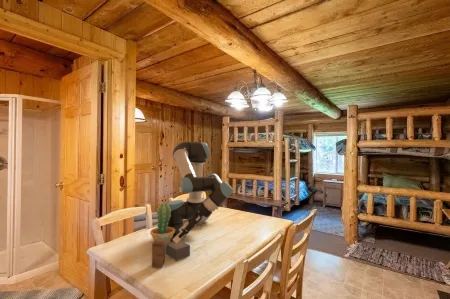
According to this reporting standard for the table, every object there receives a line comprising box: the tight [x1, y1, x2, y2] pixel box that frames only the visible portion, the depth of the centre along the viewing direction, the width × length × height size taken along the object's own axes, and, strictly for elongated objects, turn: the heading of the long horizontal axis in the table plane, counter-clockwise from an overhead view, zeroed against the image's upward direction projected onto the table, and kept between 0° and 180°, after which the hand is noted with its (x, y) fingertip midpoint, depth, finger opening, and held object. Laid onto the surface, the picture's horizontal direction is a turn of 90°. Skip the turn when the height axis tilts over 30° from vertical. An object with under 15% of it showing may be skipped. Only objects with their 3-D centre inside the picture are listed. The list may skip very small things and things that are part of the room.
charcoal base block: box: [166, 240, 191, 262], centre depth 130 cm, size 9×9×6 cm
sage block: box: [157, 233, 171, 255], centre depth 133 cm, size 5×5×10 cm
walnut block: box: [151, 240, 166, 269], centre depth 118 cm, size 5×5×12 cm
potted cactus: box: [149, 202, 175, 242], centre depth 146 cm, size 15×15×25 cm
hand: (177, 236), depth 118 cm, fingers open, 13 cm apart
